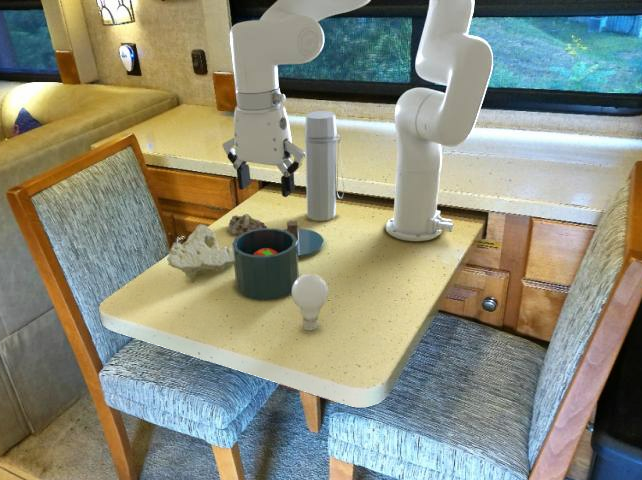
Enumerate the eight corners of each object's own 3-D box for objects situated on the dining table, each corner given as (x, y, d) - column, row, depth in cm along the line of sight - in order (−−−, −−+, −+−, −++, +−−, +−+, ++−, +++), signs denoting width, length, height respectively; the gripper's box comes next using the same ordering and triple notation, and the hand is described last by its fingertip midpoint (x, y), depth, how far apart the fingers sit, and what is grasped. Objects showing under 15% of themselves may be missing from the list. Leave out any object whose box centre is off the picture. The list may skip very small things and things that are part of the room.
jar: (309, 276, 123) (308, 235, 118) (277, 306, 114) (275, 263, 109) (258, 263, 129) (255, 223, 124) (224, 291, 120) (219, 249, 115)
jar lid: (334, 239, 137) (334, 216, 134) (305, 265, 127) (304, 241, 124) (283, 228, 143) (282, 206, 140) (252, 252, 134) (250, 229, 131)
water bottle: (305, 223, 145) (302, 119, 132) (308, 209, 152) (305, 110, 138) (343, 223, 144) (344, 119, 130) (344, 210, 150) (345, 109, 137)
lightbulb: (286, 326, 109) (283, 273, 103) (315, 315, 111) (314, 263, 105) (305, 343, 104) (303, 289, 98) (335, 331, 106) (335, 278, 100)
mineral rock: (218, 224, 142) (237, 204, 146) (222, 237, 145) (241, 218, 149) (253, 235, 136) (273, 214, 140) (257, 249, 140) (276, 228, 143)
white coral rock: (224, 258, 136) (166, 227, 130) (242, 241, 132) (183, 207, 125) (214, 310, 127) (152, 279, 120) (234, 294, 122) (169, 260, 115)
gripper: (311, 96, 103) (315, 189, 112) (229, 90, 111) (239, 177, 120) (290, 108, 98) (296, 205, 107) (205, 101, 106) (218, 191, 115)
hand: (266, 190), depth 114 cm, fingers open, 9 cm apart
